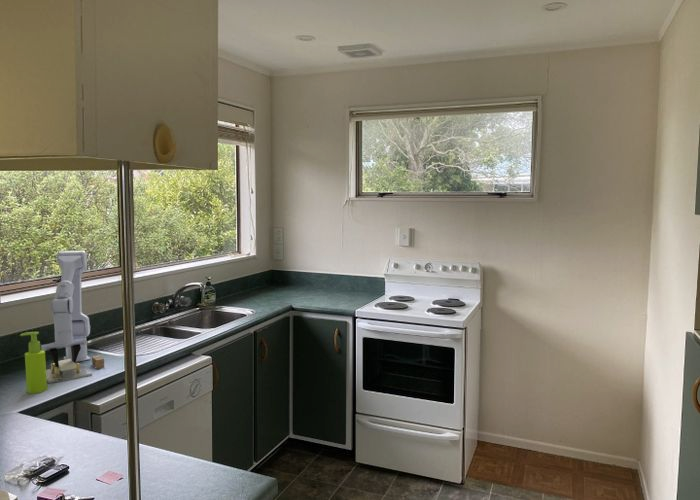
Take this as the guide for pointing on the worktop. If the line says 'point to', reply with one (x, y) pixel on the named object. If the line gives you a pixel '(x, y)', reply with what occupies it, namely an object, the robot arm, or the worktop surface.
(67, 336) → the robot arm
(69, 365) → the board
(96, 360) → the wooden block
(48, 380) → the chassis
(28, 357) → the soap dispenser
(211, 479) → the worktop surface
